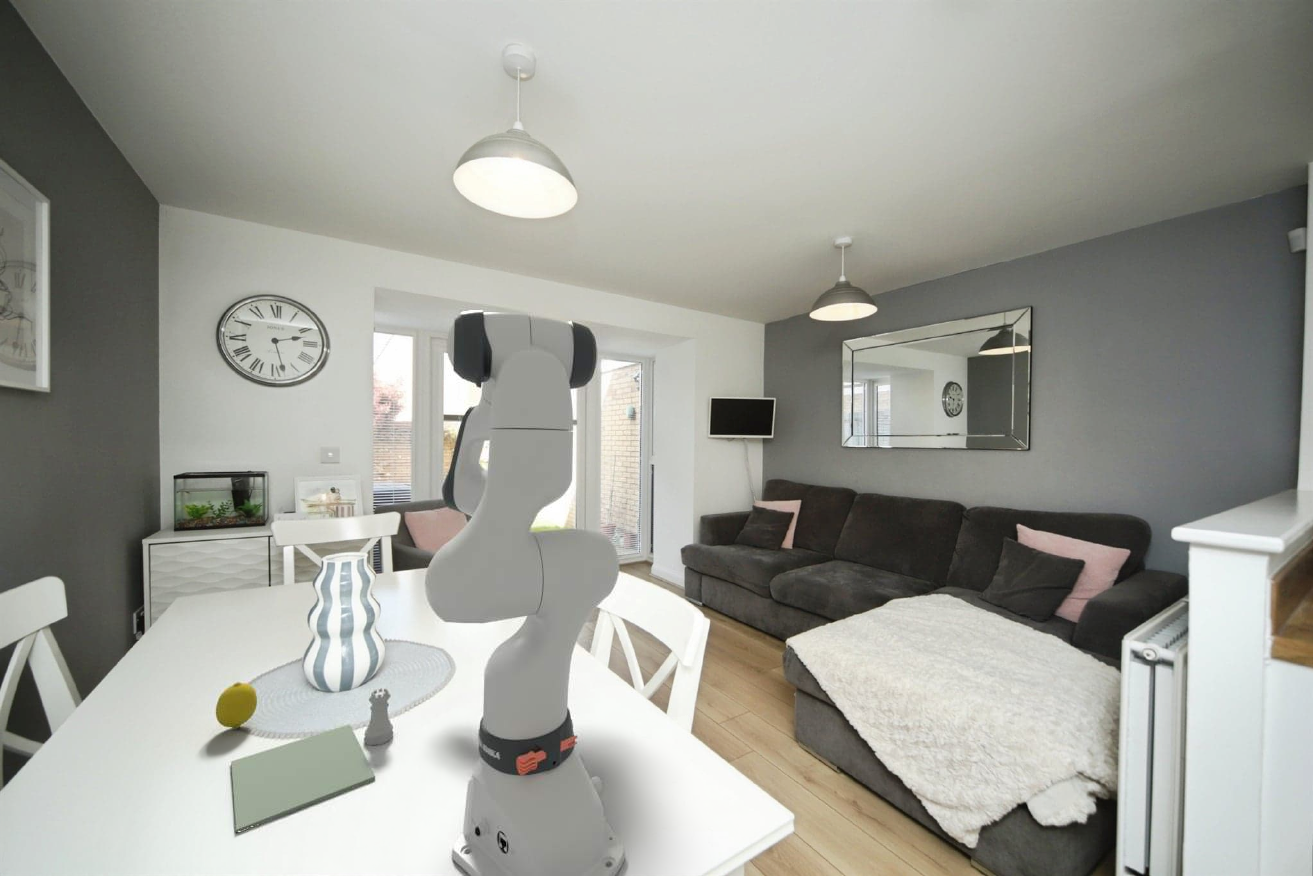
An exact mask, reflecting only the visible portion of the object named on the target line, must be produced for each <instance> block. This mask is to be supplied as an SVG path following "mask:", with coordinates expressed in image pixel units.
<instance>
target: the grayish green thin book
mask: <svg viewBox="0 0 1313 876" xmlns="http://www.w3.org/2000/svg"><path fill="white" fill-rule="evenodd" d="M230 762H231V763H230V766H231V768H232V769H231V779H232V781H233V783H232V794H233V795H234V797H233V806H234V807H233V808H234V810H235V811H234V821H235V822H236V825H235V833H236V832H238V831H242V830H244V829H247V828H249V829H251V828H250V827H251V826H254V827H257V826H258V825H257V824H260V823H262V822H265V823H267V822H269V821H268V820H270V821H272V820H275V819H277V818H279V817H283V816H285V815H287V814H291V813H292V812H296V811H298V810H300V809H303V808H305V807H308V806H311V805H313V804H316V803H319V802H321V801H323V800H327V799H329V798H332V797H334V796H336V795H339V794H342V793H344V792H347V791H350V790H351V789H355V788H358V787H360V786H362V785H365V784H367V783H370V782H373V781H374V780H376V775H375V773H374V771H373V769H372V766H371V764H370V763H369V761H368V759H367V757H366V755H365V752H364V750H363V748H362V746H361V745H360V741H359V740H358V738H357V736H356V734H355V731H354V730H353V728H352V726H351V724H347V725H343V726H340V727H337V728H334V729H331V730H327V731H323V732H320V733H318V734H315V735H311V736H308V737H305V738H301V739H299V740H294V741H291V742H289V743H286V744H282V745H280V746H276V747H274V748H273V747H272V748H270V749H267V750H264V751H260V752H257V753H253V754H250V755H247V756H244V757H241V758H237V759H234V760H231V761H230ZM271 819H272V820H271ZM266 821H267V822H266ZM235 822H234V823H235ZM262 824H263V823H262ZM256 825H257V826H256ZM260 825H261V824H260ZM247 830H248V829H247ZM244 831H245V830H244ZM242 832H243V831H242Z"/></svg>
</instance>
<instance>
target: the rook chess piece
mask: <svg viewBox="0 0 1313 876" xmlns="http://www.w3.org/2000/svg"><path fill="white" fill-rule="evenodd" d="M390 698H391V694H390V692H389V689H388V688H382V687H381V688H378V691H377V689H375V690H373V692H371V694H370V697H369V698H368V701H369V702H370V704H371V706H370V708H369V709H370V711H371V712H370V713H371V715H370V718H369V724H367V727H366V729H365V731H364V733H363V734H364V737H363V741H364V743H365V744H366V745H368V746H379V745H382V744H385V743H386V742H388V741H389V740H390V739H392V737H393V735H394V730H393V729H394V725H393V724H392V723H391V720H390V718H389V713H388V707H389V705H390V703H389V702H388V701H389V699H390Z"/></svg>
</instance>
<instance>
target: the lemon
mask: <svg viewBox="0 0 1313 876" xmlns="http://www.w3.org/2000/svg"><path fill="white" fill-rule="evenodd" d="M257 705H258V697H257V693H256V690H255V688H254V686H252V685H251V684H248V683H245V682H240V681H237V682H235V683H234V684H233V685H231V686H229V687H227V688H226V689H225V690H224V691H223V692H222V693H221V694H220V695H219V697H218V700H217V703H216V707H215V716H216V720H217V722H218V724H220V725H221V726H223V727H224V728H225V727H226V728H232V729H233V730H236V729H239V728H240V726H242V725H243V724H245V723H246V722H248V721H249V720H250V719H251V718H252V716H253V715H254V713H255V712H256V710H257Z"/></svg>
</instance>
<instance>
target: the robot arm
mask: <svg viewBox="0 0 1313 876" xmlns="http://www.w3.org/2000/svg"><path fill="white" fill-rule="evenodd" d="M596 340H597V339H596V336H595V335H594V333H593V332H592V331H591V329H590V327H588V326H585V325H583V324H581V323H577V322H574V321H571V320H570V321H568V322H566V321H561V320H556V319H552V318H548V317H543V316H536V315H529V314H528V313H520V312H504V311H502V312H499V311H498V312H495V311H494V312H490V311H489V312H488V311H487V312H484V311H483V309H481V310H480V309H478V310H477V309H476V310H468V311H462V312H460V313H459V314H458V315H457V316H456V317H454V322H453V323H452V324H451V327H450V329H449V331H448V334H447V339H446V352H447V356H448V359H449V362H450V364H451V366H452V367H453V368H452V370H453V372H454V373H455V374H456V375H458V376H459V378H461V379H462V380H465V381H467V382H470V383H473V384H475V386H476V387H477V388H479V389H481V397H480V399H479V402H476V403H473V404H471V405H470V406H469V408H468V409H467V410H466V411H465V413H464V414H463V417H462V419H461V423H460V425H459V429H458V432H457V436H456V440H455V445H454V449H453V454H452V458H451V462H450V466H449V469H448V471H447V474H446V477H445V478H444V482H443V483H442V487H441V495H442V498H443V501H444V504H445V506H446V507H447V508H448V509H450V510H453V511H455V512H457V513H461V514H465V515H468V516H470V517H471V518H470V519H469V520H468V522H466V524H465V526H464V527H463V528H462V529H461V530H460V531H458V533H457V534H456V535H455V536H453V538H452V539H450V540H449V541H447V542H446V543H445V544H443V545H442V546H440V548H439V549H438V550H437V552H436V553H435V554H433V557H432V558H431V561H430V562H429V564H428V566H427V569H426V573H425V578H424V579H425V580H424V590H425V596H426V599H427V601H428V604H429V607H430V608H431V610H432V611H433V612H434V614H435V615H436V616H437V617H438V618H439V619H440V620H442V621H443V623H454V624H457V623H458V624H487V623H492V622H499V621H505V620H511V619H517V618H523V617H526V618H525V620H524V621H523V623H522V625H521V626H520V627H519V628H518V630H517V631H516V632H515V633H513V634H512V635H511V636H509V638H507V639H506V640H504V641H503V642H502V643H500V644H499V645H498V646H497V647H496V648H495V649H494V651H493V652H491V654H490V657H489V658H488V660H487V663H486V665H485V668H484V674H483V676H484V679H483V680H484V681H483V710H482V711H483V714H482V716H481V719H480V721H479V722H480V723H479V729H478V734H477V736H478V737H477V741H478V753H479V758H478V761H477V763H476V766H475V768H474V769H473V772H472V773H471V775H470V777H469V779H468V782H467V786H466V787H467V788H466V798H465V808H464V817H463V818H464V819H463V828H462V833H461V834H460V835H459V836H458V838H457V839H456V840H455V842H454V843H453V845H452V851H451V859H453V861H454V862H456V863H457V865H459V866H460V868H462V870H464V872H466V873H467V874H468V875H469V876H616V875H617V874H618V872H619V871H620V869H621V867H622V866H623V863H624V862H625V861H624V860H625V849H624V847H623V845H622V843H621V842H620V839H619V838H618V837H617V835H616V833H615V832H614V830H613V829H612V827H611V826H610V824H609V822H608V821H607V820H606V818H605V812H604V807H603V803H602V799H600V797H601V796H602V795H603V785H602V781H601V779H600V777H599V776H598V775H597V776H596V775H595V776H592V777H590V776H589V772H588V771H587V769H586V766H585V758H584V755H583V754H578V752H577V749H576V747H575V746H576V745H578V742H577V741H576V739H578V735H575V732H574V723H573V720H572V716H571V711H570V709H569V707H568V705H569V704H568V702H569V701H568V699H569V683H570V672H571V663H572V656H573V653H574V649H575V646H576V644H577V641H578V639H579V636H580V634H581V633H582V630H583V628H584V626H585V624H586V623H587V621H588V620H589V618H590V616H591V615H592V614H593V612H594V611H595V610H596V608H597V607H598V606H599V605H600V604H601V603H602V602H603V601H604V600H605V599H606V598H608V597H609V595H611V593H612V592H613V590H614V588H615V587H616V584H617V582H618V579H619V574H620V573H619V572H620V560H619V555H618V552H617V549H616V547H615V545H614V544H613V541H611V540H610V538H609V537H608V536H607V535H606V534H605V533H603V532H599V531H594V530H586V529H579V528H578V529H577V528H567V529H566V528H564V529H553V530H540V531H539V530H538V531H531V528H532V526H533V524H534V522H535V520H536V518H537V516H538V514H539V513H540V512H541V511H542V510H543V509H544V508H546V507H548V506H550V505H551V504H553V503H555V502H556V501H558V500H560V499H561V498H562V497H563V496H564V495H565V494H566V493H567V492H568V490H569V488H570V487H571V484H572V482H573V453H574V449H573V448H574V447H573V446H574V441H573V440H574V432H573V431H574V415H573V412H574V411H573V400H572V392H571V390H574V389H579V388H584V387H585V386H586V385H587V384H588V383H590V381H592V379H593V376H594V374H595V371H596V368H597V364H598V360H599V359H598V358H599V357H598V347H597V341H596ZM485 441H489V444H488V445H489V450H488V461H487V462H488V463H487V470H486V469H485V468H483V467H482V465H481V464H480V459H481V455H482V452H483V449H484V445H485Z"/></svg>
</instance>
